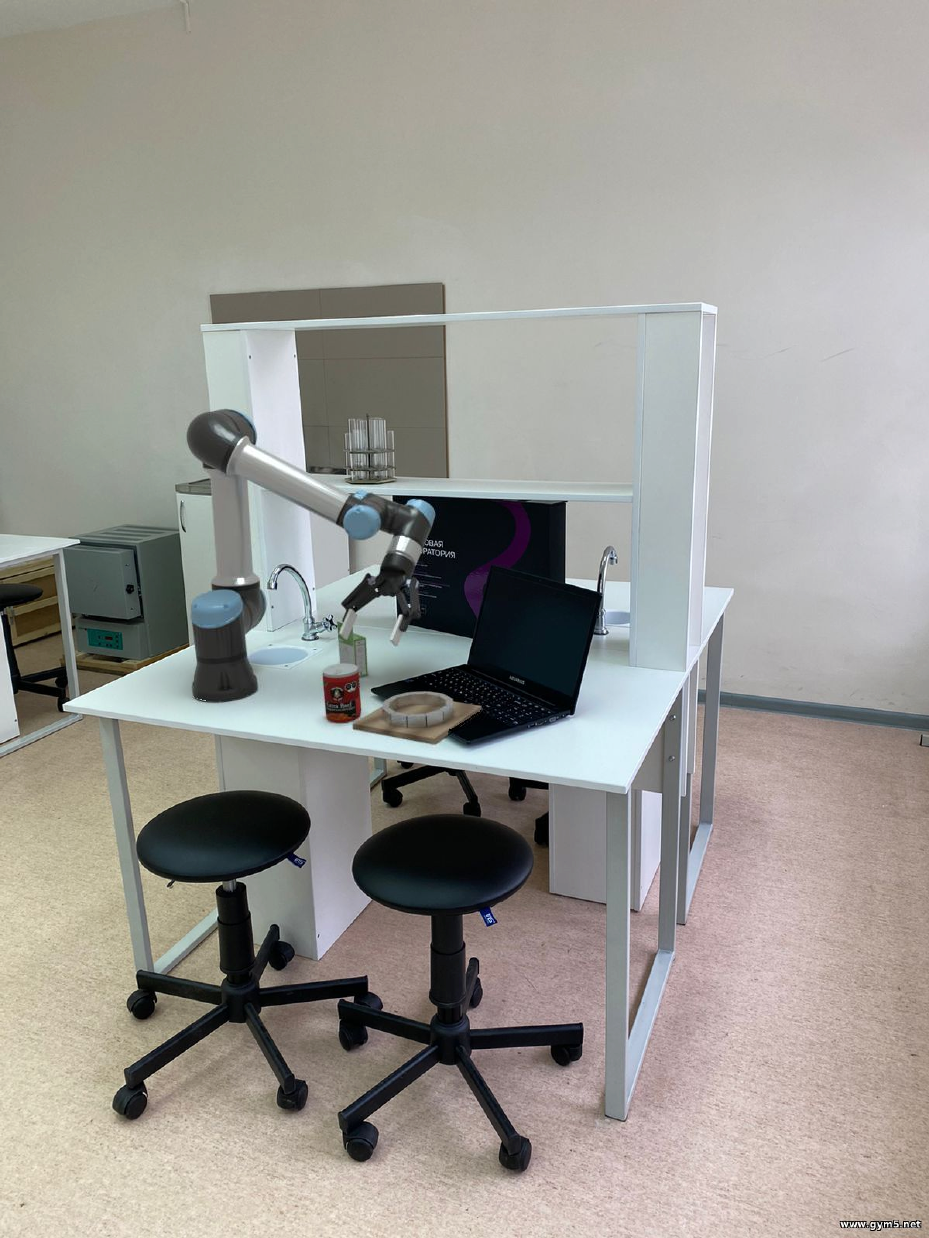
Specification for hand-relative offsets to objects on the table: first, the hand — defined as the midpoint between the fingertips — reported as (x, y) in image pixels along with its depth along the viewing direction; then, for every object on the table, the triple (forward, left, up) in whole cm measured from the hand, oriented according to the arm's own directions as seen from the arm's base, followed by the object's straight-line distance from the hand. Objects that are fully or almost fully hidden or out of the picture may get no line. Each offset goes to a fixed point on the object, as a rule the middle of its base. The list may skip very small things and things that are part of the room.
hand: (367, 639), depth 211 cm
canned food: (0, -11, -15) cm, 18 cm away
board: (+16, -6, -15) cm, 22 cm away
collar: (+16, -6, -13) cm, 21 cm away
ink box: (-15, +14, -15) cm, 26 cm away
